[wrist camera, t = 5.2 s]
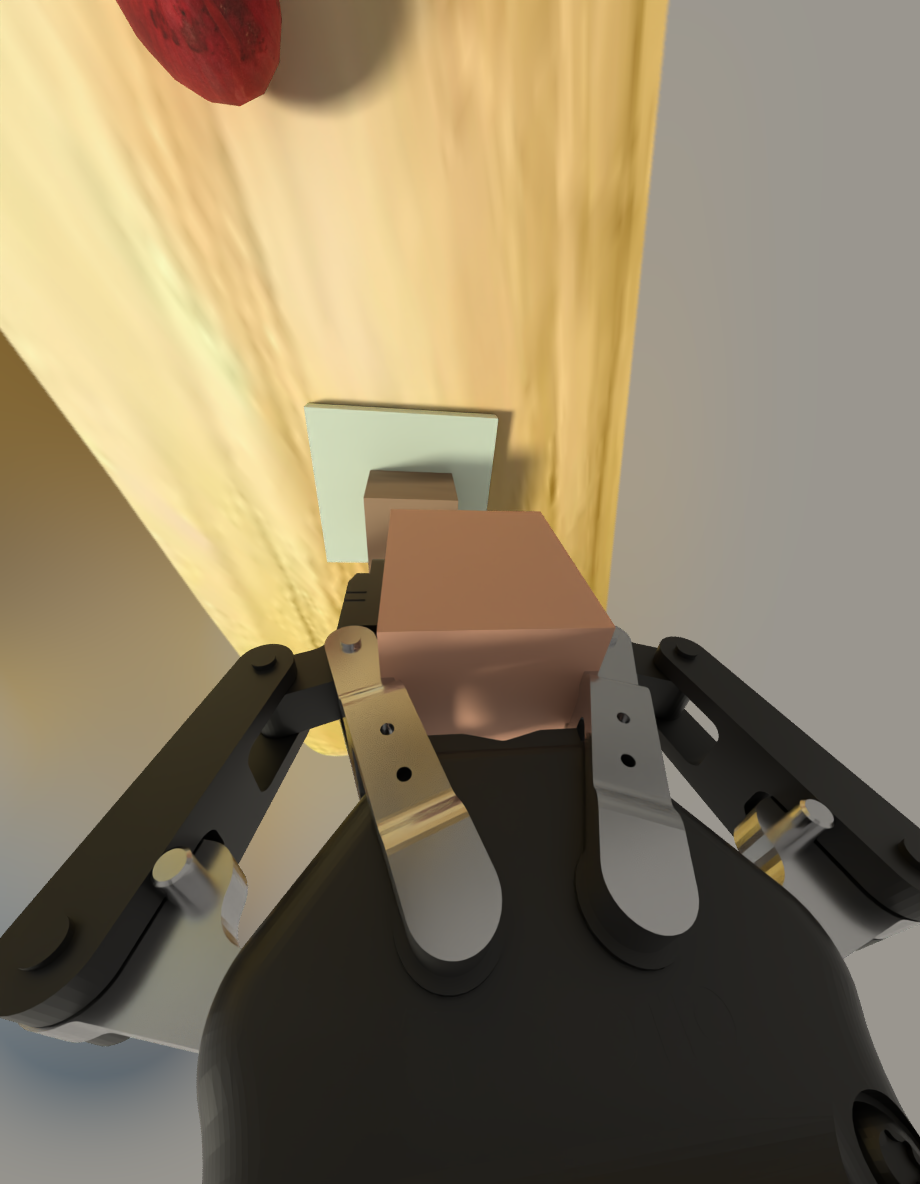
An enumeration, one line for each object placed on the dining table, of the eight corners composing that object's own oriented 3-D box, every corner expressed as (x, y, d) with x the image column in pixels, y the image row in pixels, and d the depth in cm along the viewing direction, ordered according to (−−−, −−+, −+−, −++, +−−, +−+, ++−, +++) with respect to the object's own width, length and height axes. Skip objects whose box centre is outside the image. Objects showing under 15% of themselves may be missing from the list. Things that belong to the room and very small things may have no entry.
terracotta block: (390, 508, 12) (376, 632, 8) (540, 511, 13) (615, 627, 8) (396, 626, 15) (388, 770, 10) (518, 624, 16) (564, 759, 11)
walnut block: (370, 469, 28) (363, 497, 24) (451, 473, 29) (458, 500, 25) (374, 542, 32) (369, 576, 28) (447, 543, 32) (452, 577, 28)
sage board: (307, 403, 26) (303, 406, 25) (495, 414, 28) (498, 418, 27) (329, 554, 33) (327, 562, 32) (477, 556, 35) (479, 563, 34)
